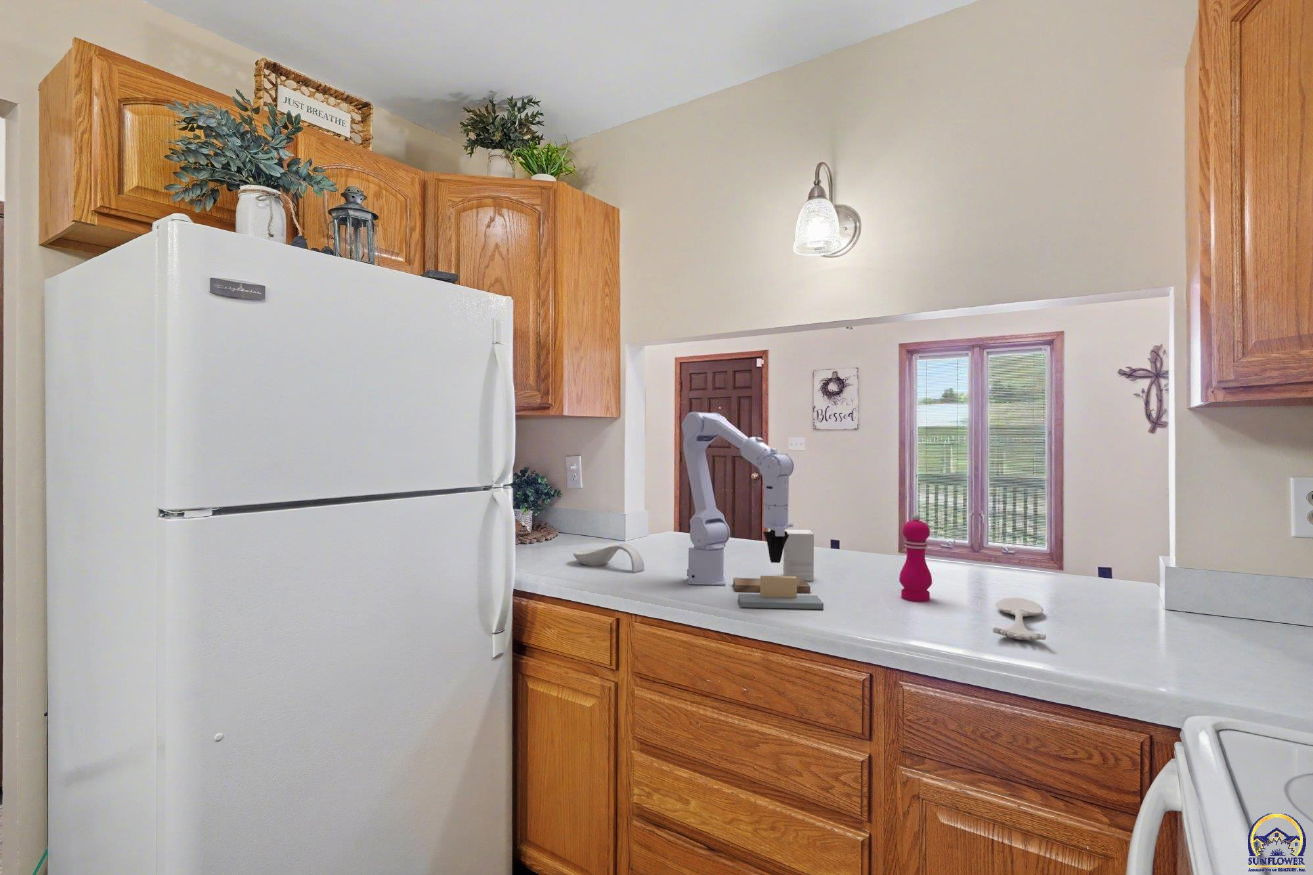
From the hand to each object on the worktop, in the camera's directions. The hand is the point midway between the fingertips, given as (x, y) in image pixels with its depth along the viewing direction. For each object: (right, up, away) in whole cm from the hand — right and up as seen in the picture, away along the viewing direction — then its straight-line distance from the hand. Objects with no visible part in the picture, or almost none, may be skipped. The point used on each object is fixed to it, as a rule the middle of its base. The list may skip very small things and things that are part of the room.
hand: (775, 562), depth 155 cm
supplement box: (+10, -8, +20) cm, 24 cm away
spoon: (+45, -9, -22) cm, 51 cm away
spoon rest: (-42, -8, +34) cm, 54 cm away
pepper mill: (+33, -9, -1) cm, 34 cm away
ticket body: (0, -8, +8) cm, 11 cm away
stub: (0, -8, -8) cm, 11 cm away
